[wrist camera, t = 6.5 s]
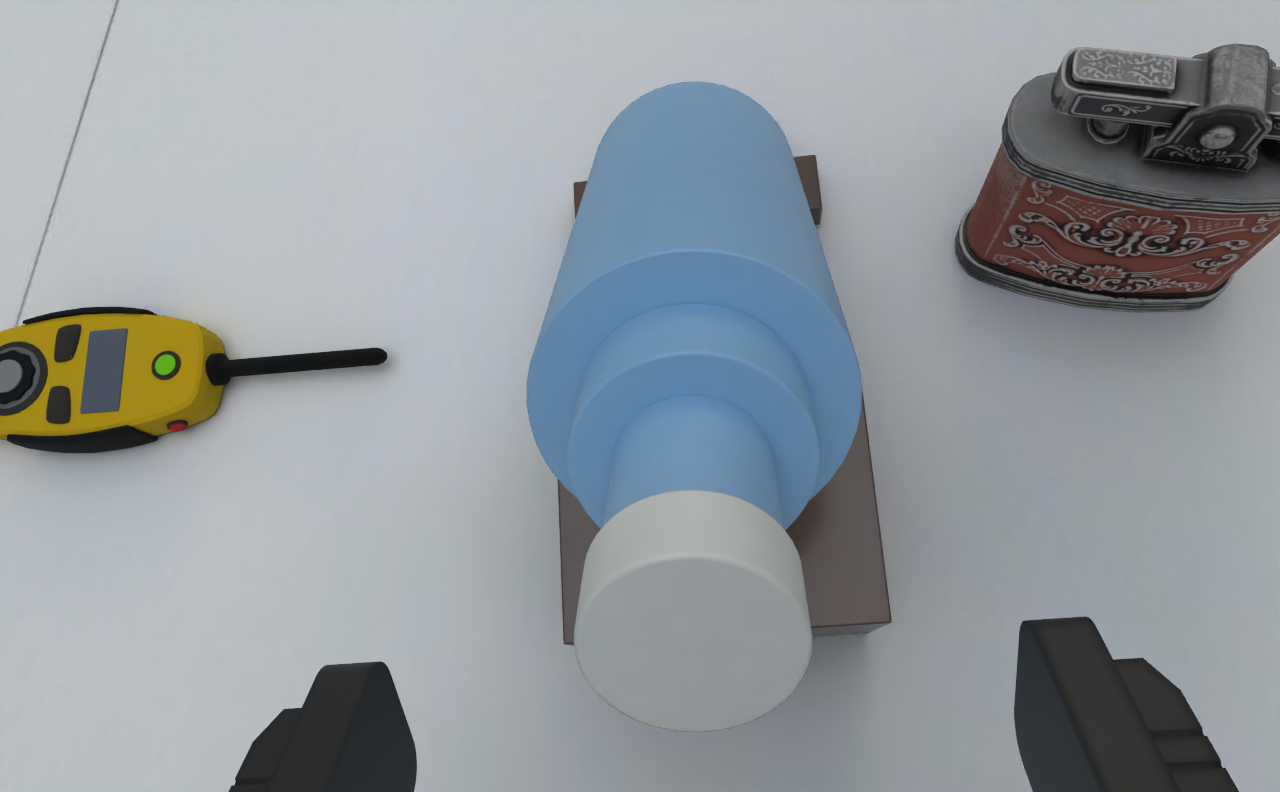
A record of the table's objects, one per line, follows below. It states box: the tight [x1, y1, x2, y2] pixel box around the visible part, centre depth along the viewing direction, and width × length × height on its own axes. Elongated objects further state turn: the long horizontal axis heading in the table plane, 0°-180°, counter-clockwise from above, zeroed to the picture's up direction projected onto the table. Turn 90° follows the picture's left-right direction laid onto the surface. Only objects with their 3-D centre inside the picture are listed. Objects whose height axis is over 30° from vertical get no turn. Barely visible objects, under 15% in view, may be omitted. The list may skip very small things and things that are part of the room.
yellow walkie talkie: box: [0, 307, 387, 453], centre depth 33 cm, size 5×2×15 cm
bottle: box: [527, 82, 862, 732], centre depth 23 cm, size 18×6×18 cm, turn 3°
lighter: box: [955, 44, 1280, 312], centre depth 26 cm, size 8×3×10 cm, turn 78°
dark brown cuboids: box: [558, 155, 892, 646], centre depth 29 cm, size 8×15×6 cm, turn 3°
